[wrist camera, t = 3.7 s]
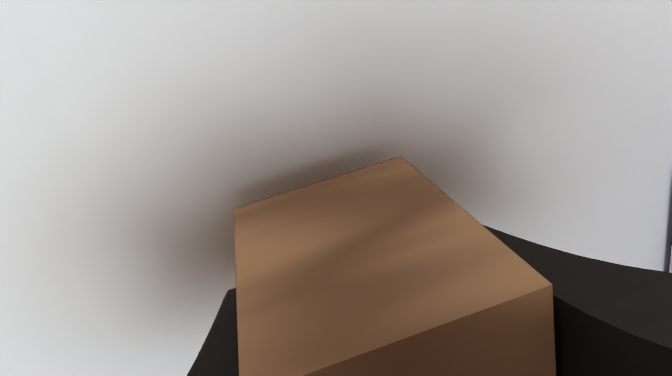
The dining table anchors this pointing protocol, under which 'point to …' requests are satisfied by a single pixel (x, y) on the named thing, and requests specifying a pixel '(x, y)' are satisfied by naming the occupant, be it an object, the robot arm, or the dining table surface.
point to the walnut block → (383, 284)
